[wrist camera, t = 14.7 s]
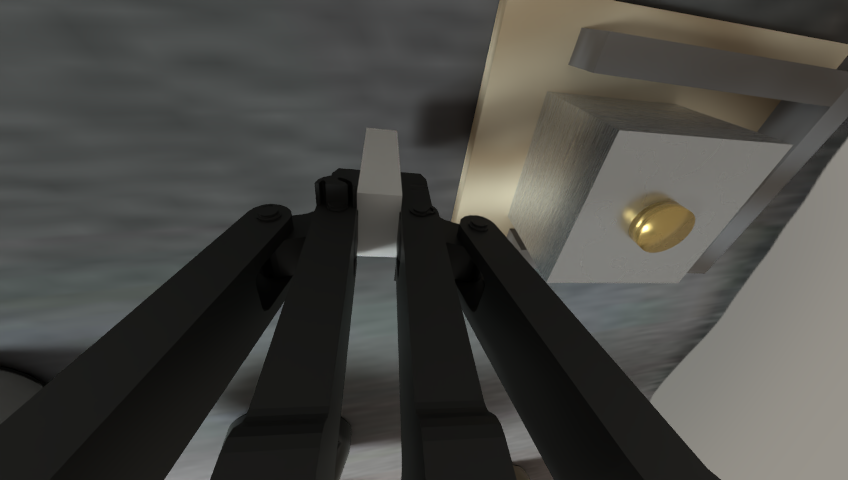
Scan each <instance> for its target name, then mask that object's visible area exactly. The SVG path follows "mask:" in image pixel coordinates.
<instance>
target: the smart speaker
mask: <svg viewBox="0 0 848 480" xmlns="http://www.w3.org/2000/svg"><path fill="white" fill-rule="evenodd" d="M43 387H44V385H43V384H42V383H41V382H40V381H38V380H37V379H35V378H33V377H31V376H29V375H27V374H24V373H22V372H19V371H16V370H12V369H9V368H4V367H0V424H1V423H2V422H4V421H5V420H6V419H7V418H8V417H9V416H11V415H12V414H13V413H14V412H15V411H16V410H18V409H19V408H20V407H21V406H22V405H23V404H25V403H26V402H27V401H28V400H29V399H30V398H32V397H33V396H34V395H35V394H36V393H37V392H39V391H40V390H41V389H42V388H43Z"/></svg>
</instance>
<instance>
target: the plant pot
mask: <svg viewBox="0 0 848 480" xmlns="http://www.w3.org/2000/svg"><path fill="white" fill-rule="evenodd" d="M513 468H514V472H515V475H516V479H517V480H530V478H529V477H528V475H527V474H526V472H525V471H524V469H523V468H521V467H519V466H515V465H513Z"/></svg>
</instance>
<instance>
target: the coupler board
mask: <svg viewBox="0 0 848 480" xmlns="http://www.w3.org/2000/svg"><path fill="white" fill-rule="evenodd" d="M847 56H848V44H843V43H838V42H833V41H827V40H822V39H817V38H811V37H806V36H801V35H795V34H790V33H785V32H779V31H774V30H769V29H763V28H758V27H753V26H747V25H742V24H737V23H731V22H726V21H720V20H715V19H710V18H704V17H699V16H694V15H688V14H683V13H678V12H672V11H667V10H662V9H656V8H651V7H646V6H640V5H635V4H630V3H624V2H619V1H613V0H500V1H499V6H498V10H497V15H496V19H495V24H494V29H493V33H492V38H491V42H490V47H489V51H488V56H487V60H486V65H485V70H484V74H483V79H482V83H481V88H480V92H479V97H478V102H477V106H476V111H475V115H474V120H473V124H472V129H471V133H470V138H469V143H468V147H467V152H466V156H465V161H464V165H463V170H462V175H461V179H460V184H459V188H458V193H457V197H456V202H455V206H454V211H453V216H452V220H451V222H453V223H457V224H459V223H460V220H461V219H462V218H463V217H464V216H469V215H478V216H482V217H485V218H487V219H489V220H491V221H492V222H493V223H494V224H495V225H496V226H497V227H498V228H499V229H500V230H501V232H502V233H503V234H504V235H505V236H506V237H507V238H508V240H509V241H510V242H511V243H512V244H513V245H514V247H515V248H516V249H517V250H518V251H519V252H520V253H521V255H522V256H523V257H524V258H525V259H526V260H527V261H528V263H529V264H530V265H531V266H532V267H533V268H535V269H538V267H537V266H536V264H535V262H534V261H533V259H532V257H531V255H530V254H529V252H528V250H527V248H526V247H525V245H524V243H523V242H522V240H521V238H520V236H519V235H518V233H517V231H516V230H515V228H514V226H513V224H512V223H511V221H510V219H509V217H508V213H509V210H510V207H511V204H512V201H513V197H514V194H515V191H516V188H517V185H518V182H519V178H520V175H521V172H522V169H523V166H524V163H525V160H526V156H527V153H528V150H529V147H530V144H531V141H532V137H533V134H534V131H535V128H536V125H537V122H538V119H539V115H540V112H541V109H542V106H543V103H544V100H545V96H546V93H547V91H549V92H559V93H569V94H579V95H589V96H599V97H609V98H619V99H629V100H639V101H649V102H659V103H669V104H677V105H680V106H683V107H686V108H688V109H691V110H694V111H697V112H700V113H703V114H706V115H709V116H712V117H714V118H717V119H720V120H723V121H726V122H729V123H732V124H735V125H738V126H740V127H743V128H746V129H749V130H752V131H755V132H758V133H761V134H764V135H767V136H769V137H772V138H775V139H778V140H781V141H784V142H787V143H790V144H793V146H792V147H791V148H790V149H789V151H788V152H787V153H786V154H785V155H784V157H783V158H782V159H781V160H780V161H779V163H778V164H777V165H776V166H775V167H774V169H773V170H772V171H771V172H770V173H769V175H768V176H767V177H766V178H765V179H764V181H763V182H762V183H761V184H760V185H759V187H758V188H757V189H756V190H755V191H754V193H753V194H752V195H751V196H750V197H749V199H748V200H747V201H746V202H745V203H744V205H743V206H742V207H741V208H740V209H739V211H738V212H737V213H736V214H735V215H734V217H733V218H732V219H731V220H730V221H729V223H728V224H727V225H726V226H725V227H724V229H723V230H722V231H721V232H720V233H719V235H718V236H717V237H716V238H715V239H714V241H713V242H712V243H711V244H710V245H709V247H708V248H707V249H706V250H705V251H704V253H703V254H702V255H701V256H700V257H699V259H698V260H697V261H696V262H695V263H694V265H693V266H692V267H691V268H690V269H689V271H688V272H687V273H703V274H705V273H706V272H707V271H708V270H709V269H710V267H711V266H712V265H713V264H714V263H715V262H716V261H717V260H718V259H719V258H720V256H721V255H722V254H723V253H724V252H725V251H726V250H727V249H728V248H729V247H730V246H731V244H732V243H733V242H734V241H735V240H736V239H737V238H738V237H739V236H740V235H741V233H742V232H743V231H744V230H745V229H746V228H747V227H748V226H749V225H750V224H751V222H752V221H753V220H754V219H755V218H756V217H757V216H758V215H759V214H760V213H761V212H762V210H763V209H764V208H765V207H766V206H767V205H768V204H769V203H770V202H771V201H772V199H773V198H774V197H775V196H776V195H777V194H778V193H779V192H780V191H781V190H782V189H783V187H784V186H785V185H786V184H787V183H788V182H789V181H790V180H791V179H792V178H793V176H794V175H795V174H796V173H797V172H798V171H799V170H800V169H801V168H802V167H803V165H804V164H805V163H806V162H807V161H808V160H809V159H810V158H811V157H812V156H813V155H814V153H815V152H816V151H817V150H818V149H819V148H820V147H821V146H822V145H823V144H824V142H825V141H826V140H827V139H828V138H829V137H830V136H831V135H832V134H833V133H834V131H835V130H836V129H837V128H838V127H839V126H840V125H841V124H842V123H843V122H844V121H845V119H846V118H847V117H848V71H843V70H837V68H838V67H839V65H840V64H841V63H842V62H843V60H844V59H845V58H846V57H847Z"/></svg>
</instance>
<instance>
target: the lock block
mask: <svg viewBox="0 0 848 480" xmlns="http://www.w3.org/2000/svg"><path fill="white" fill-rule="evenodd" d="M792 146H793V144H790V143H787V142H784V141H781V140H778V139H775V138H772V137H769V136H767V135H764V134H761V133H758V132H755V131H752V130H749V129H746V128H743V127H740V126H738V125H735V124H732V123H729V122H726V121H723V120H720V119H717V118H714V117H712V116H709V115H706V114H703V113H700V112H697V111H694V110H691V109H688V108H686V107H683V106H680V105H677V104H669V103H659V102H649V101H639V100H629V99H619V98H609V97H599V96H589V95H579V94H569V93H559V92H549V91H547V93H546V96H545V100H544V103H543V106H542V109H541V112H540V115H539V119H538V122H537V125H536V128H535V131H534V134H533V137H532V141H531V144H530V147H529V150H528V153H527V156H526V160H525V163H524V166H523V169H522V172H521V175H520V178H519V182H518V185H517V188H516V191H515V194H514V197H513V201H512V204H511V207H510V210H509V213H508V217H509V219H510V221H511V223H512V224H513V226H514V228H515V230H516V231H517V233H518V235H519V236H520V238H521V240H522V242H523V243H524V245H525V247H526V248H527V250H528V252H529V254H530V255H531V257H532V259H533V261H534V262H535V264H536V266H537V267H538V269H539V271H540V273H541V274H542V276H543V278H544V279H545V281H546V283H679V281H680V280H681V279H682V278H683V277H684V275H685V274H686V273H687V272H688V271H689V269H690V268H691V267H692V266H693V265H694V263H695V262H696V261H697V260H698V259H699V257H700V256H701V255H702V254H703V253H704V251H705V250H706V249H707V248H708V247H709V245H710V244H711V243H712V242H713V241H714V239H715V238H716V237H717V236H718V235H719V233H720V232H721V231H722V230H723V229H724V227H725V226H726V225H727V224H728V223H729V221H730V220H731V219H732V218H733V217H734V215H735V214H736V213H737V212H738V211H739V209H740V208H741V207H742V206H743V205H744V203H745V202H746V201H747V200H748V199H749V197H750V196H751V195H752V194H753V193H754V191H755V190H756V189H757V188H758V187H759V185H760V184H761V183H762V182H763V181H764V179H765V178H766V177H767V176H768V175H769V173H770V172H771V171H772V170H773V169H774V167H775V166H776V165H777V164H778V163H779V161H780V160H781V159H782V158H783V157H784V155H785V154H786V153H787V152H788V151H789V149H790V148H791V147H792Z"/></svg>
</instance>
